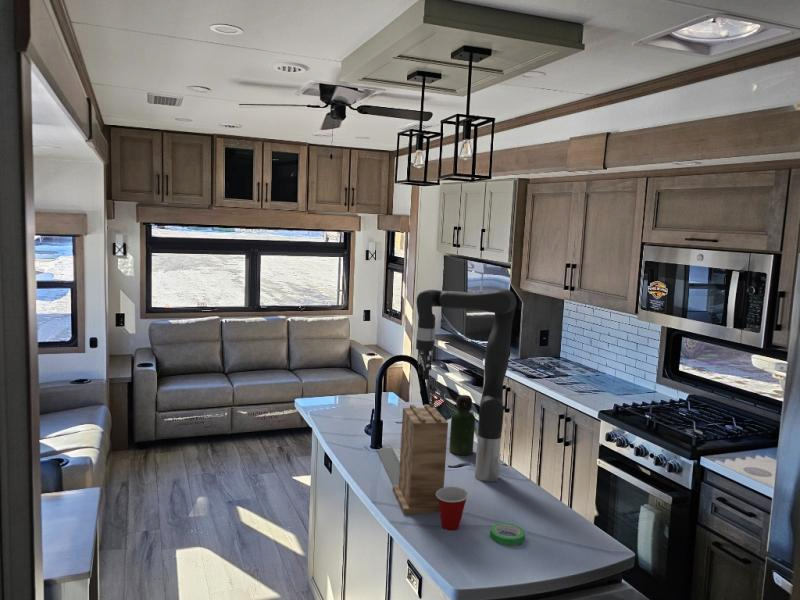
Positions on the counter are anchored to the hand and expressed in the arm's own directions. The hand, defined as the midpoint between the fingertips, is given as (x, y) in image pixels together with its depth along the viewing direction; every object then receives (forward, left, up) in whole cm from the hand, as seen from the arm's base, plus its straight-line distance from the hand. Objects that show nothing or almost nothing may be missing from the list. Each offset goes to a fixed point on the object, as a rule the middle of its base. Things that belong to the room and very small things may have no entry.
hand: (423, 376), depth 274 cm
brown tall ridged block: (-12, +38, -36) cm, 54 cm away
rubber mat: (+4, +10, -36) cm, 38 cm away
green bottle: (-14, -19, -36) cm, 43 cm away
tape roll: (-46, +52, -37) cm, 78 cm away
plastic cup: (-27, +53, -36) cm, 70 cm away
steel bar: (+3, +12, -36) cm, 38 cm away
